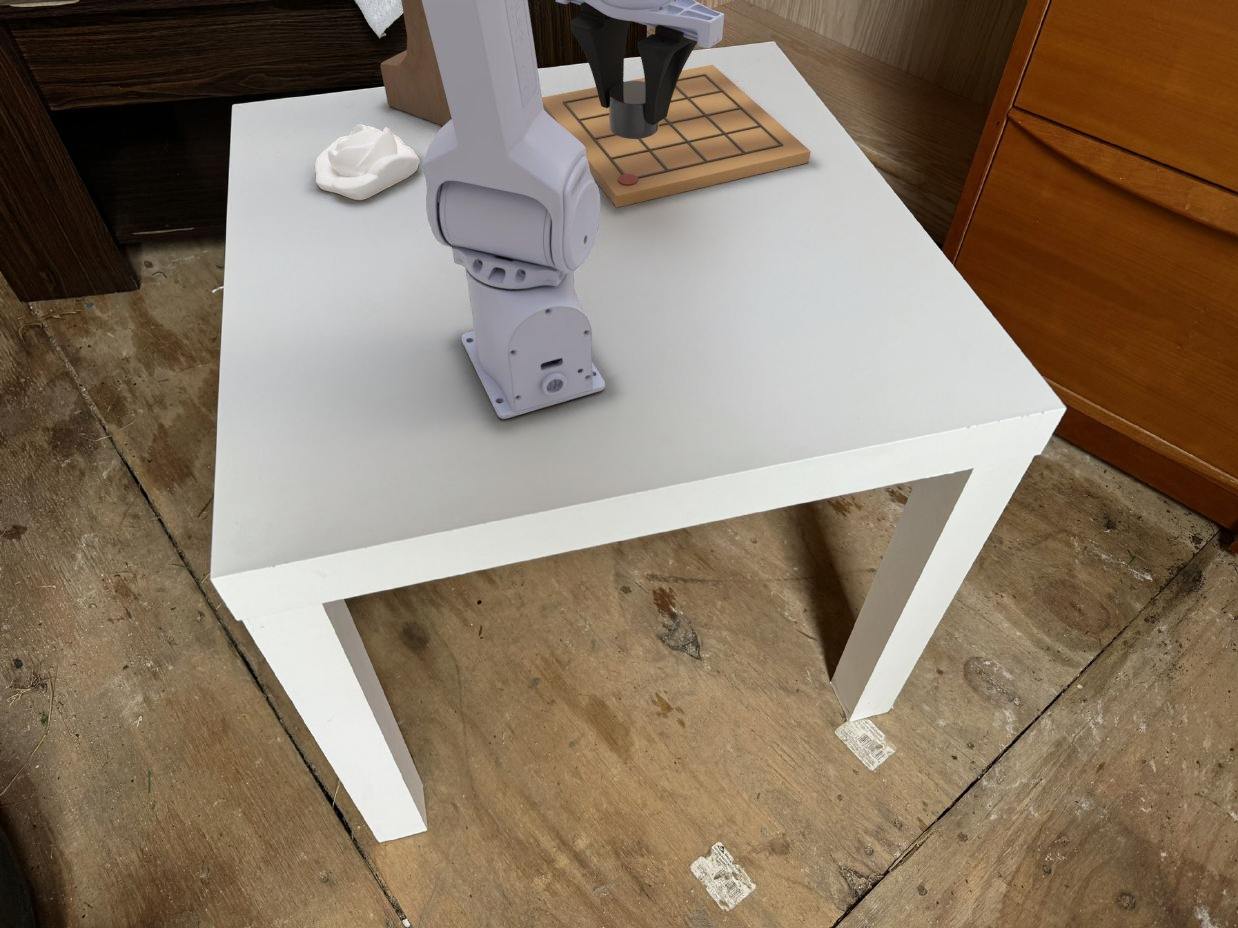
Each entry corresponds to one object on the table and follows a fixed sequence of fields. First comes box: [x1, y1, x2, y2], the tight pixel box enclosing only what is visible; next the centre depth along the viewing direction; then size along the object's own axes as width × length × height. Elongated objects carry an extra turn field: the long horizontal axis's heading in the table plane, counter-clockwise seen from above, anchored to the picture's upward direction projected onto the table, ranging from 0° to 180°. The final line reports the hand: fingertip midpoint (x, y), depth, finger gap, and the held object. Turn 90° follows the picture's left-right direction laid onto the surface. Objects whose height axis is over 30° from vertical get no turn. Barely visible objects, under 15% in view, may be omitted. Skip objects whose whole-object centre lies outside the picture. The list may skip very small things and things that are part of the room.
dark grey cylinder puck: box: [609, 80, 659, 139], centre depth 73 cm, size 4×4×3 cm
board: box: [542, 64, 811, 208], centre depth 87 cm, size 20×20×1 cm
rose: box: [314, 123, 421, 201], centre depth 80 cm, size 10×4×10 cm
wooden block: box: [380, 0, 452, 127], centre depth 84 cm, size 9×4×18 cm, turn 56°
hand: (634, 111), depth 74 cm, fingers closed on dark grey cylinder puck, 4 cm apart
